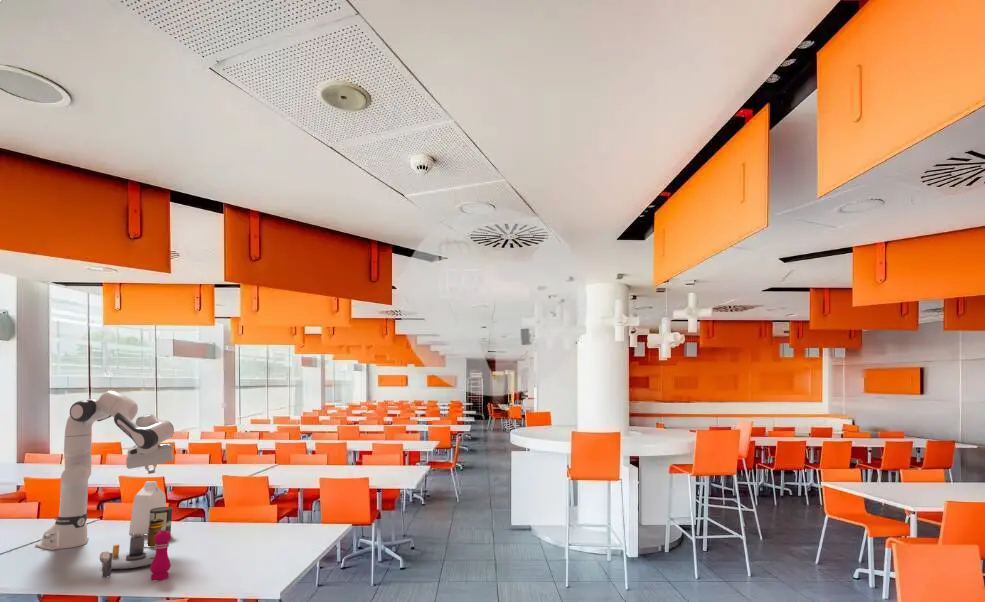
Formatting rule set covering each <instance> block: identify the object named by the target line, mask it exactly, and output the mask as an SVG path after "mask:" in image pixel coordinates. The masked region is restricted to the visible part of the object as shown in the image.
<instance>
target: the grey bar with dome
mask: <svg viewBox="0 0 985 602" xmlns="http://www.w3.org/2000/svg"><path fill="white" fill-rule="evenodd" d="M112 553H113V552H110V551H108V550H105V551H102V552H101V553H100V554H99V561H100V563H101V564H102V563H103V566H102V575H101V576H102V577H101V578H108V577H107V576H109V577H111V576H110V575H111V574H112V569H111V564H112Z"/></svg>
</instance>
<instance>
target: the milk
mask: <svg viewBox="0 0 985 602" xmlns="http://www.w3.org/2000/svg"><path fill="white" fill-rule="evenodd" d="M157 482H158V481H151V480H150V481H149V480H148V481H145V482H144V485H143V487H142V488H141V489H140V490H139V491H138V492H137V493H136V494H135V495H134V498H133V502H132V510H131V517H130V522H129V523H130V524H129V530H128V534H129V533H134V534H133V535H135V534H147V535H146V536H148V529H149V518H150V510H151V509H154V508H159V507H166V496H167V495H166V493H165V492H164V491H163V490H162V489H161V488H160V487H159V485H158V483H157Z"/></svg>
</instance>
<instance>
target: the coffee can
mask: <svg viewBox="0 0 985 602" xmlns="http://www.w3.org/2000/svg"><path fill="white" fill-rule="evenodd" d="M172 514H173V507H171V506H165V507H159V508H154V509H151V510H150V518H149V526H150V521H151V520H153V519H162V525H163V527H165V528H166V530H165V531H168V532H170V534H171V533H172V531H171V530H172V517H173V515H172ZM171 535H172V534H171Z"/></svg>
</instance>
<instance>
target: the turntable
mask: <svg viewBox="0 0 985 602" xmlns="http://www.w3.org/2000/svg"><path fill="white" fill-rule="evenodd" d="M111 553H112V564H111V570H113V569H114V570H123V569H124V570H125V569H132V568H133V569H135V568H140V567H145V566H149V565H150V566H151V564H152V562H153V560H154V557H155V554H156V550H144V553H146V558H144V559H141V560H135V561H127V560H126V556H127V555H129V552H126V553H121V554H119V553H120V543H119V544H117V543H116V544H113V545H112V552H111ZM101 566H102V567H103V563H102V562H101Z"/></svg>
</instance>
